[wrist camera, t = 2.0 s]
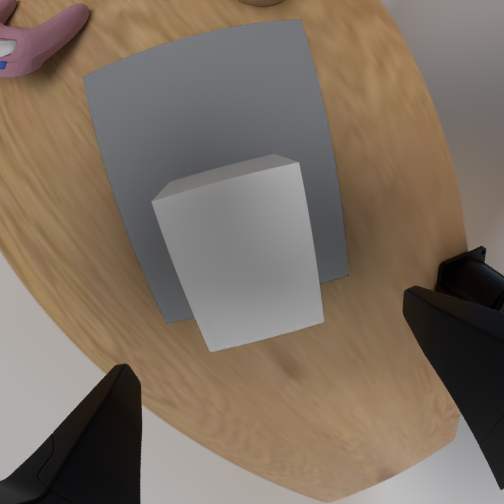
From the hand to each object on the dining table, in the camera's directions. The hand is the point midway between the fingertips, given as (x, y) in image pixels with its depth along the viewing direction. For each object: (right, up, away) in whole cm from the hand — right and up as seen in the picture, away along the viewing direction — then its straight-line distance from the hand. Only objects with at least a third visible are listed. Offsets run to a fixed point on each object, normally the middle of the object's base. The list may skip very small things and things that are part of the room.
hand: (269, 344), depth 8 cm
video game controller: (-16, +17, +2) cm, 24 cm away
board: (-2, +7, +8) cm, 11 cm away
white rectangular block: (-1, +4, +9) cm, 10 cm away
